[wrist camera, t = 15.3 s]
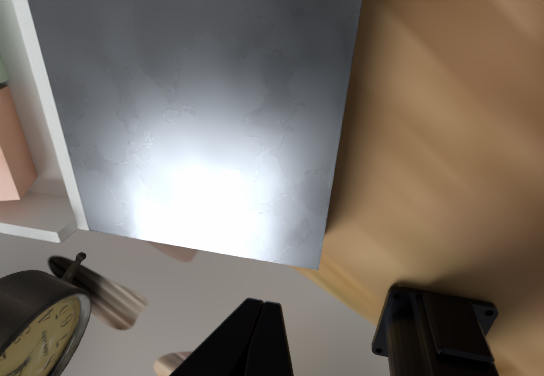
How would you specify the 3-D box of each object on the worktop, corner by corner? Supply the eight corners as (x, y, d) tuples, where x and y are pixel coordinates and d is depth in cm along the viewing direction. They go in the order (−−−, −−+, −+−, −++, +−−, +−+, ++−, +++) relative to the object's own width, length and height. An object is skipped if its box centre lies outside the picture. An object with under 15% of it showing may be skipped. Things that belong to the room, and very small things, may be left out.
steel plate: (321, 237, 21) (318, 270, 19) (118, 204, 23) (89, 230, 21) (372, -86, 13) (379, -107, 11) (56, -94, 15) (-3, -113, 13)
